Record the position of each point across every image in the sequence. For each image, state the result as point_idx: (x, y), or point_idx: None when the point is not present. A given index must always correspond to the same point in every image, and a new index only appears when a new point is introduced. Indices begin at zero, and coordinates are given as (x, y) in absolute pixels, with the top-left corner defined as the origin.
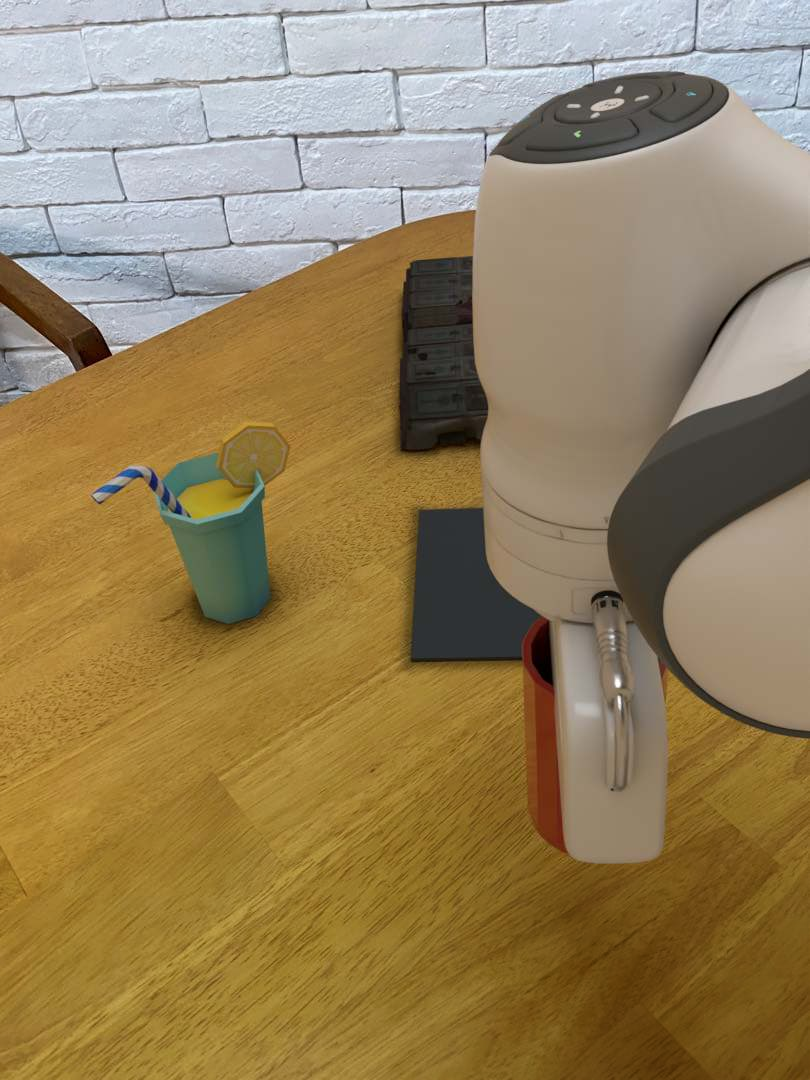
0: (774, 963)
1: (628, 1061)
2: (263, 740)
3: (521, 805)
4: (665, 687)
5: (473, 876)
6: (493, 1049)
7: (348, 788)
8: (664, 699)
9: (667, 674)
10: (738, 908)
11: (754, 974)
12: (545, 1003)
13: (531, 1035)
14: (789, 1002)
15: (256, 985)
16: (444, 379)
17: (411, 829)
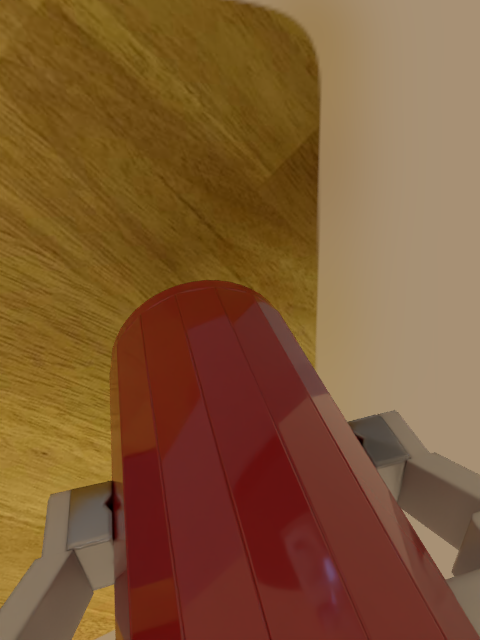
0: (200, 31)
1: (310, 199)
2: (39, 530)
3: (45, 326)
4: (358, 572)
5: None
6: (300, 305)
7: (72, 463)
8: (336, 525)
9: (369, 620)
10: (130, 72)
11: (216, 60)
12: (261, 273)
13: (289, 280)
14: (247, 18)
15: None
16: None
17: (104, 408)
